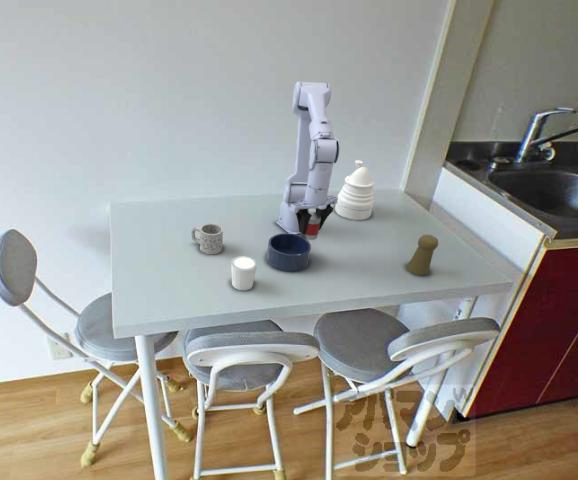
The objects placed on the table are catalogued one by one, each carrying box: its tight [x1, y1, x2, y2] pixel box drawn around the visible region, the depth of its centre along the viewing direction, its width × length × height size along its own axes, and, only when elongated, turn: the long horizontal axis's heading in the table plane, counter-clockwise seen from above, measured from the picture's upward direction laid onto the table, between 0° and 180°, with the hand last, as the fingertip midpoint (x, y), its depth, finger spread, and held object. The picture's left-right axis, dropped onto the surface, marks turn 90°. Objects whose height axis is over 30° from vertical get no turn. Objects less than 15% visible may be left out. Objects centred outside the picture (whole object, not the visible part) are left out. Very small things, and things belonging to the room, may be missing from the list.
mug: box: [191, 223, 224, 255], centre depth 126 cm, size 10×7×7 cm, turn 65°
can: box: [300, 211, 321, 241], centre depth 118 cm, size 5×5×6 cm
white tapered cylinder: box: [230, 255, 258, 291], centre depth 112 cm, size 7×7×7 cm
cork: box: [406, 234, 439, 277], centre depth 121 cm, size 6×6×11 cm
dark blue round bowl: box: [266, 232, 312, 273], centre depth 123 cm, size 12×12×6 cm
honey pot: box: [334, 159, 375, 221], centre depth 147 cm, size 13×13×18 cm
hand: (309, 230), depth 119 cm, fingers closed on can, 5 cm apart
